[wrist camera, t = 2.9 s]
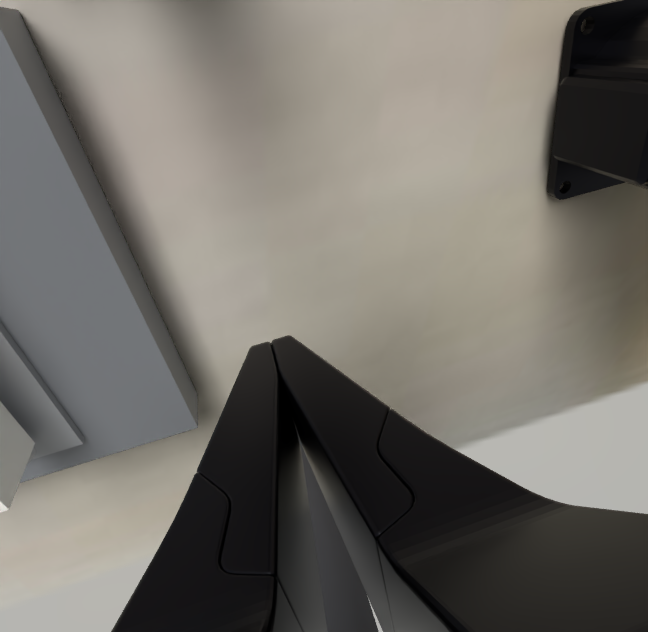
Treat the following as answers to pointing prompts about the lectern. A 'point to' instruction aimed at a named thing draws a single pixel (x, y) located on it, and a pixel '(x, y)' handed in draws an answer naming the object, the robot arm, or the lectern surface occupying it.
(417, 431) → the robot arm
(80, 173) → the breaker panel
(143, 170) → the lectern surface
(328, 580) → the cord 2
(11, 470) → the breaker paddles
